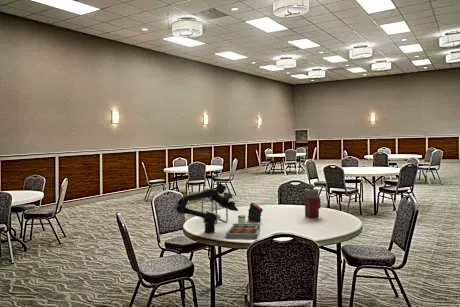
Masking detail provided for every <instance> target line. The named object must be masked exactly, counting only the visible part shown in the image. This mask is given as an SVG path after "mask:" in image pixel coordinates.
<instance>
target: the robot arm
mask: <svg viewBox="0 0 460 307" xmlns="http://www.w3.org/2000/svg"><path fill="white" fill-rule="evenodd" d="M226 189H227V186H226V185H223V184H221V183H220V182H218V183H217V186H216V187H215V188H212V189H211V188H205V189H203V190H201V191H200V192H195V193H191V194H186V195H185V194H184V195H182V196H181V198H180V199H179V201H178V202H177V203H176V204H175V205H174V207H173V211H174V212H176V213H178V214H180V215H181V214H183V215H185V214H186V215H191V216H195V217H198V218H201V219H203V218H204V219H203V223H204V231H203V232H204V233H205V234H213V233H216V232H215V231H216V229H215V228H216V226H215V225H216V224H215V222H216V220H217V221H218V219H217V216H216V215H214V213H215V212H213V213H212V211H208V210H206V211H205V212H204V211H203V212H202V211H198V210H195V209H191V208H188V207H187V205H188V202H190V201H193V200H198V199H202V198H209V200H210V201H211V202H210V203H212V202H213V201H215V202H217V205H218V207H220V208H223V209H226V208H227V209H228V210H229V211H234V212H238V211H239V208H237V207H236V202H235V201H233V200H230V199H231V198H232V197H234V196H233V194H232V193H231V192H228V191H227V192H226Z"/></svg>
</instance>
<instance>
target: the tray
mask: <svg viewBox="0 0 460 307" xmlns="http://www.w3.org/2000/svg"><path fill="white" fill-rule="evenodd" d="M230 229H231V233H237V234H256V232H257V230H259V231H261V224H260V223H246V224H238V222H236V223H235V222H233V224H232V226H231V228H230Z"/></svg>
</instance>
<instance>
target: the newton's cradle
mask: <svg viewBox="0 0 460 307" xmlns="http://www.w3.org/2000/svg"><path fill="white" fill-rule="evenodd" d="M204 201H206V202H208V205H209V204H210V203H211V207H209V210H210V211H211V212H212V213H214V215H216V216H217V220H216V221H215V224H214V225H217V224H218V221H220V222H219V224H224V223H228V221H229V217H228V216H229V214H228V212H229V211H228V210H229V209H227V208H225V214H226V218H225V220H224V219H223V218H221V215H220V214H219V211H220V209H221V207H219V206H218V203H217V202H215V201H214V200H213V202H211V201H210V198H209V197H202V198H201V212H203V213H204ZM218 207H219V211H218ZM210 208H211V209H210ZM202 219H203V220H204V218H202Z"/></svg>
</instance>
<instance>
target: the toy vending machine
mask: <svg viewBox="0 0 460 307" xmlns="http://www.w3.org/2000/svg"><path fill="white" fill-rule="evenodd" d="M308 187H309V188H305V189H304V217H305V216H306V217H305V218H307V217H308V218H307V219H318V217H319V218H320V209H322V208H321V197H320V196H319V189H317V188H314V187H315V186H314V184H313V183H309V185H308Z"/></svg>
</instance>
